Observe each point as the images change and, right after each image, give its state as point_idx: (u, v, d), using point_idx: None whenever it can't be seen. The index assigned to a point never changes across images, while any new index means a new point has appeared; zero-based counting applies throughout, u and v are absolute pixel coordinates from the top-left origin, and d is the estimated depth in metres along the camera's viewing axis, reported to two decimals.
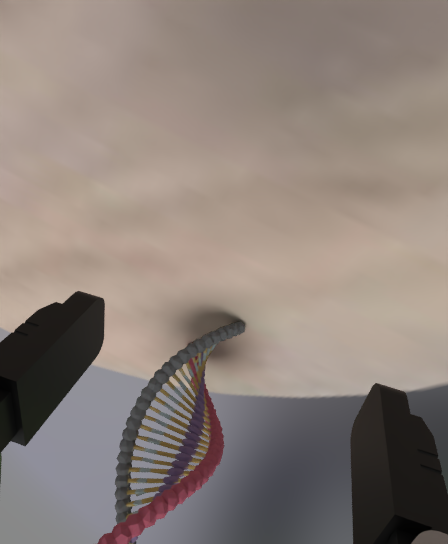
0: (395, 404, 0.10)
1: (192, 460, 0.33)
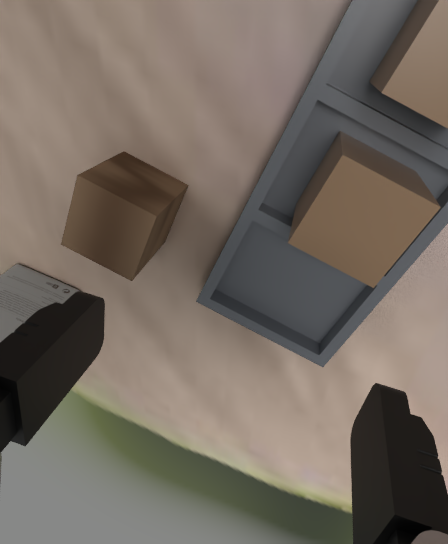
0: (395, 404, 0.10)
1: None
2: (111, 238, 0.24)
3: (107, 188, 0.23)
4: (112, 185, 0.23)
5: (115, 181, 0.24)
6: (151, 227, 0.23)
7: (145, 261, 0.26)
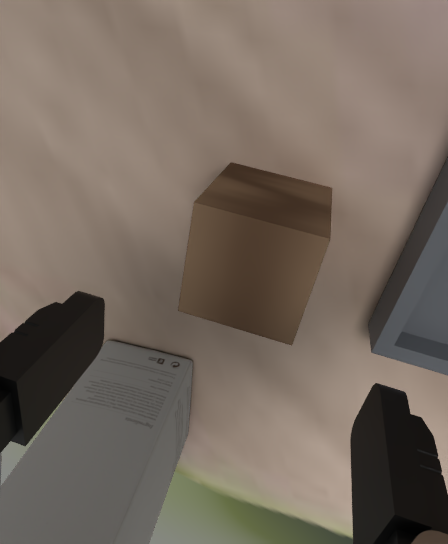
0: (395, 404, 0.10)
1: None
2: (254, 288, 0.16)
3: (241, 212, 0.14)
4: (245, 206, 0.15)
5: (246, 201, 0.15)
6: (321, 258, 0.14)
7: None
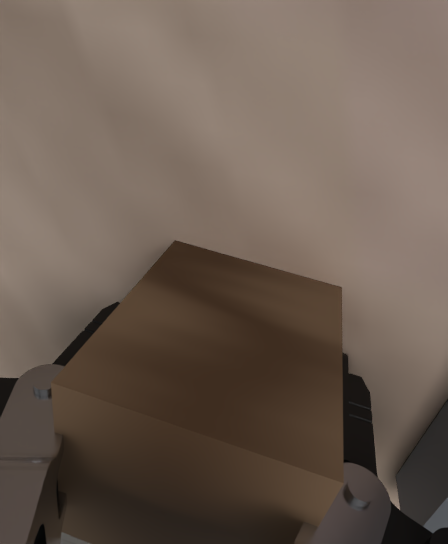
0: None
1: None
2: (191, 529, 0.08)
3: (153, 403, 0.07)
4: (166, 379, 0.07)
5: (173, 359, 0.08)
6: (323, 509, 0.07)
7: None
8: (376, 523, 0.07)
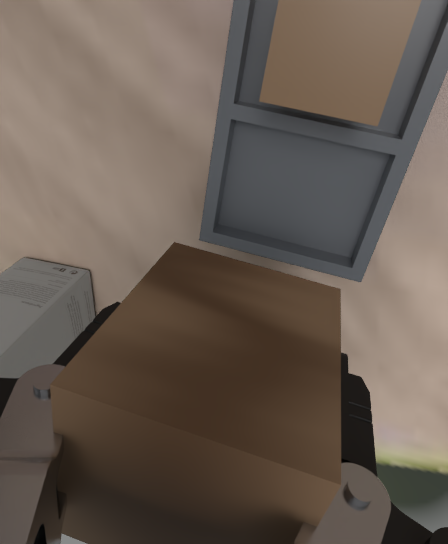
0: None
1: None
2: (190, 531, 0.08)
3: (151, 405, 0.07)
4: (165, 381, 0.07)
5: (172, 361, 0.08)
6: (321, 510, 0.07)
7: None
8: (376, 523, 0.07)
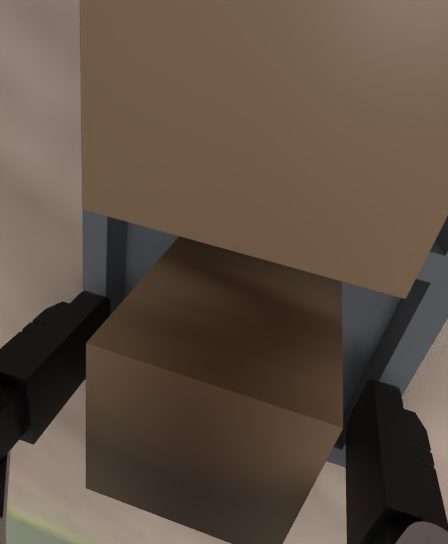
0: (388, 399, 0.10)
1: None
2: (207, 479, 0.09)
3: (175, 361, 0.08)
4: (186, 343, 0.08)
5: (191, 327, 0.09)
6: (325, 454, 0.07)
7: None
8: None
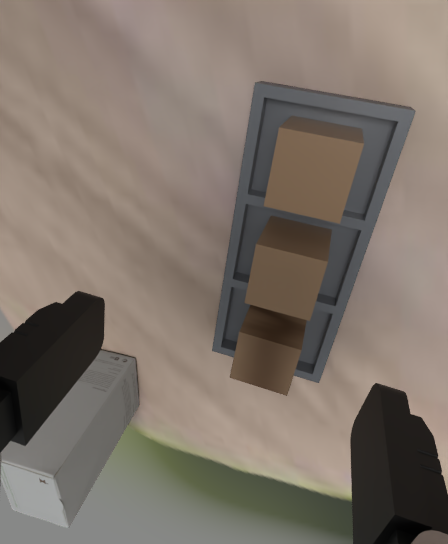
0: (395, 404, 0.10)
1: None
2: (268, 369, 0.32)
3: (261, 336, 0.31)
4: (262, 332, 0.32)
5: (263, 327, 0.32)
6: (298, 357, 0.31)
7: None
8: None
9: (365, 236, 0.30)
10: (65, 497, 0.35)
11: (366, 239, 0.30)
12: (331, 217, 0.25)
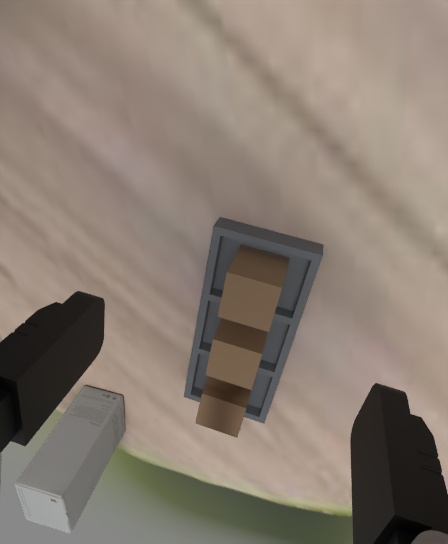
0: (395, 404, 0.10)
1: None
2: (223, 419, 0.44)
3: (217, 396, 0.43)
4: (219, 392, 0.43)
5: (220, 389, 0.44)
6: (244, 413, 0.43)
7: None
8: None
9: (293, 328, 0.42)
10: (69, 511, 0.47)
11: (294, 330, 0.42)
12: (263, 327, 0.37)
